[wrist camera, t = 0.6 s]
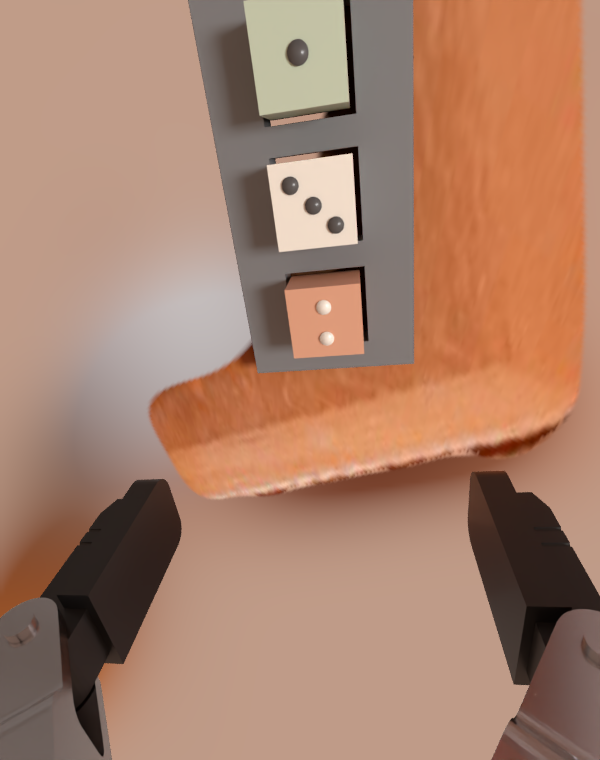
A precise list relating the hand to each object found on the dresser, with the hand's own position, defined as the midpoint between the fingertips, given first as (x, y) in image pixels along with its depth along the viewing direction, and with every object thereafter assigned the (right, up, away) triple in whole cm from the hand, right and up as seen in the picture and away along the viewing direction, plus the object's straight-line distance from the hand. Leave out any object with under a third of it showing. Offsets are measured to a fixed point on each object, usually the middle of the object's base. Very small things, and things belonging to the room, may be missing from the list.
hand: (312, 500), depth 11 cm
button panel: (+1, +14, +13) cm, 19 cm away
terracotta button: (+1, +8, +15) cm, 17 cm away
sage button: (0, +18, +9) cm, 21 cm away
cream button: (+1, +13, +12) cm, 18 cm away
